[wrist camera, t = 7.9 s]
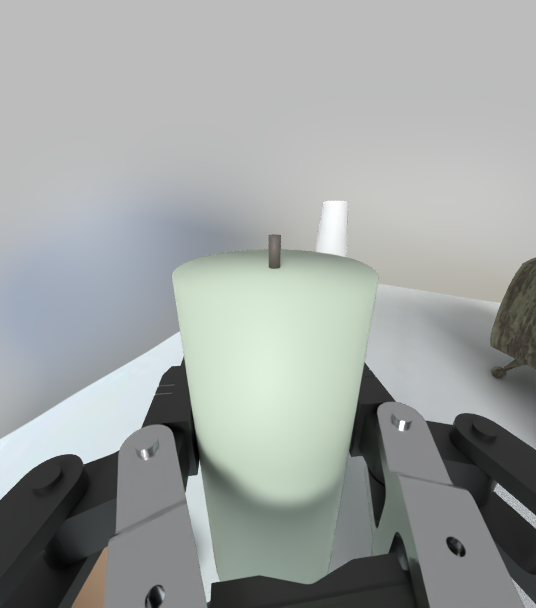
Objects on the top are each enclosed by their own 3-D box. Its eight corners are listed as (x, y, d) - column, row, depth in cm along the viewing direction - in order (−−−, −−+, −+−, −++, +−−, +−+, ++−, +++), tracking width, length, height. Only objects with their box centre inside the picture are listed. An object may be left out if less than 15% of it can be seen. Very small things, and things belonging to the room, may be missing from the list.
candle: (263, 459, 14) (260, 223, 9) (349, 523, 12) (408, 233, 7) (189, 547, 11) (123, 237, 6) (287, 672, 8) (318, 274, 3)
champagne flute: (306, 315, 57) (314, 200, 48) (314, 305, 63) (322, 200, 54) (336, 321, 55) (350, 201, 46) (342, 309, 60) (355, 200, 51)
